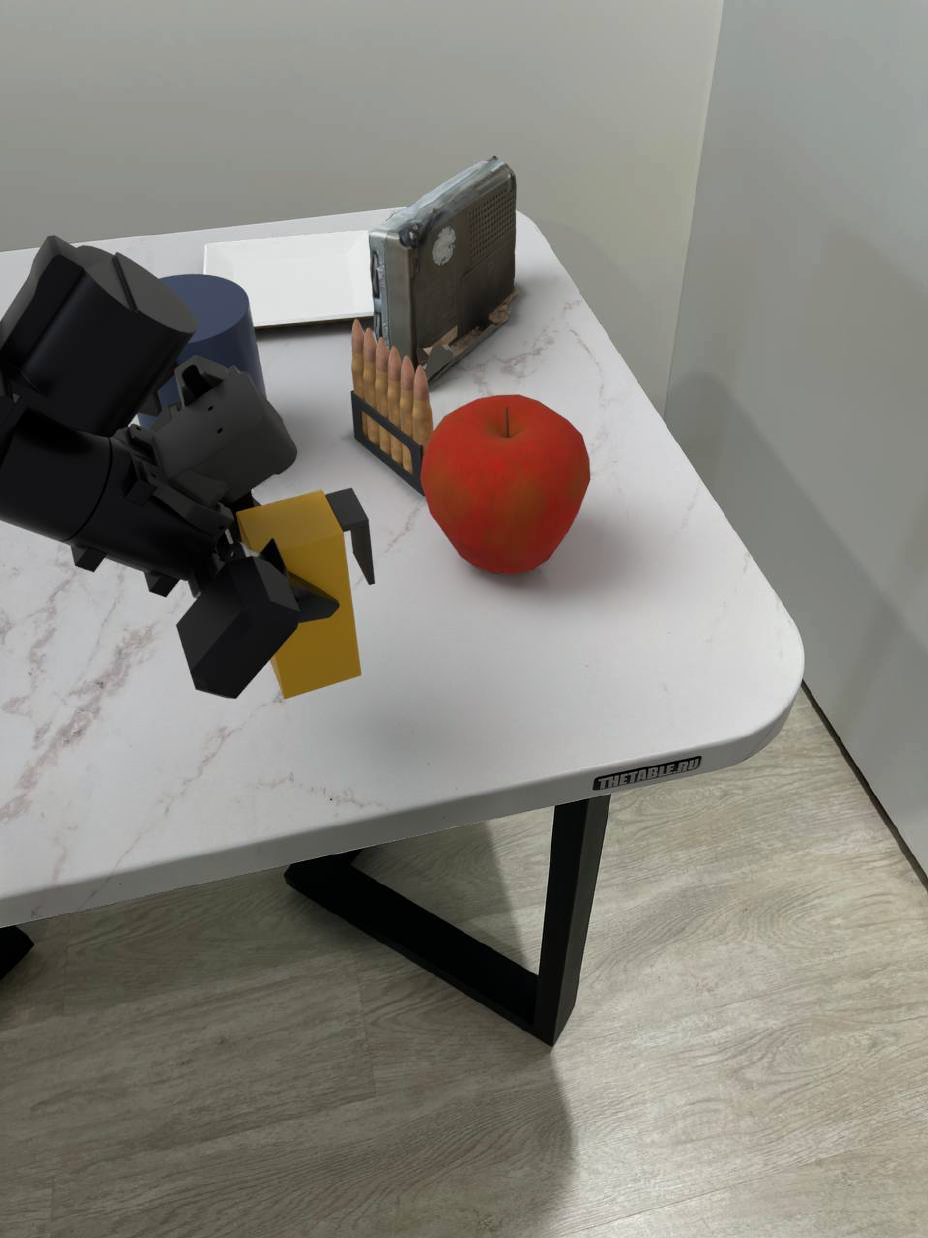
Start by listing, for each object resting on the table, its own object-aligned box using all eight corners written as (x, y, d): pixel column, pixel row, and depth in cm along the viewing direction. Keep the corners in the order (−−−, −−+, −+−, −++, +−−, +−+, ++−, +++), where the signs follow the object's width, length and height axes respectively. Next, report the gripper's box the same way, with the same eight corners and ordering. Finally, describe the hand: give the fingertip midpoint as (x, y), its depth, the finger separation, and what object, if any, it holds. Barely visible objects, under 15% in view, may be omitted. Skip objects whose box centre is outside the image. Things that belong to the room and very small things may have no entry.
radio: (486, 271, 112) (486, 132, 101) (552, 293, 109) (560, 151, 98) (350, 368, 99) (334, 220, 89) (420, 396, 96) (412, 246, 85)
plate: (388, 330, 104) (386, 311, 103) (204, 347, 102) (200, 329, 101) (371, 245, 117) (370, 227, 115) (207, 259, 115) (204, 241, 114)
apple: (401, 582, 79) (388, 434, 69) (464, 491, 86) (461, 345, 76) (549, 629, 75) (560, 480, 65) (602, 530, 83) (618, 382, 72)
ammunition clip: (441, 487, 87) (436, 366, 78) (424, 496, 86) (417, 374, 77) (370, 429, 92) (359, 310, 84) (353, 437, 92) (340, 317, 83)
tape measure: (284, 700, 62) (253, 556, 53) (267, 655, 65) (235, 511, 56) (385, 668, 64) (372, 524, 55) (365, 625, 66) (349, 481, 58)
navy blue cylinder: (215, 525, 84) (178, 380, 74) (103, 495, 87) (53, 351, 76) (296, 428, 93) (273, 286, 83) (193, 403, 96) (159, 264, 85)
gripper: (219, 474, 40) (475, 593, 51) (135, 265, 52) (357, 397, 63) (73, 663, 44) (341, 737, 55) (25, 427, 56) (253, 526, 67)
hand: (323, 585), depth 60 cm, fingers closed on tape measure, 4 cm apart
